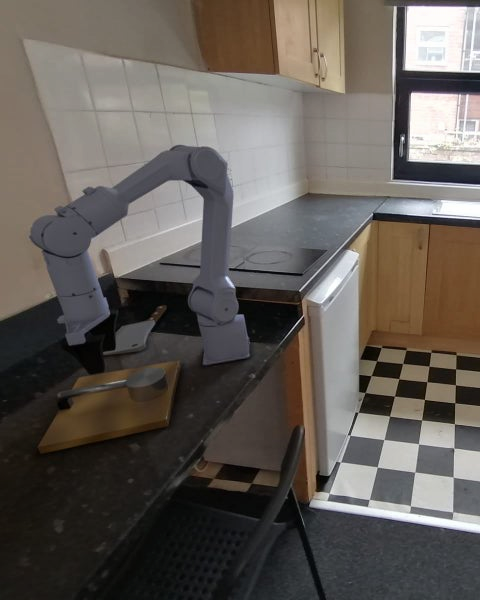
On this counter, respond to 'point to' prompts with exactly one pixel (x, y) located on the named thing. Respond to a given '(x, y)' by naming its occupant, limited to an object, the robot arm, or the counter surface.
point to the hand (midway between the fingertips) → (103, 361)
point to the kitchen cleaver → (135, 334)
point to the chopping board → (110, 411)
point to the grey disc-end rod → (138, 385)
